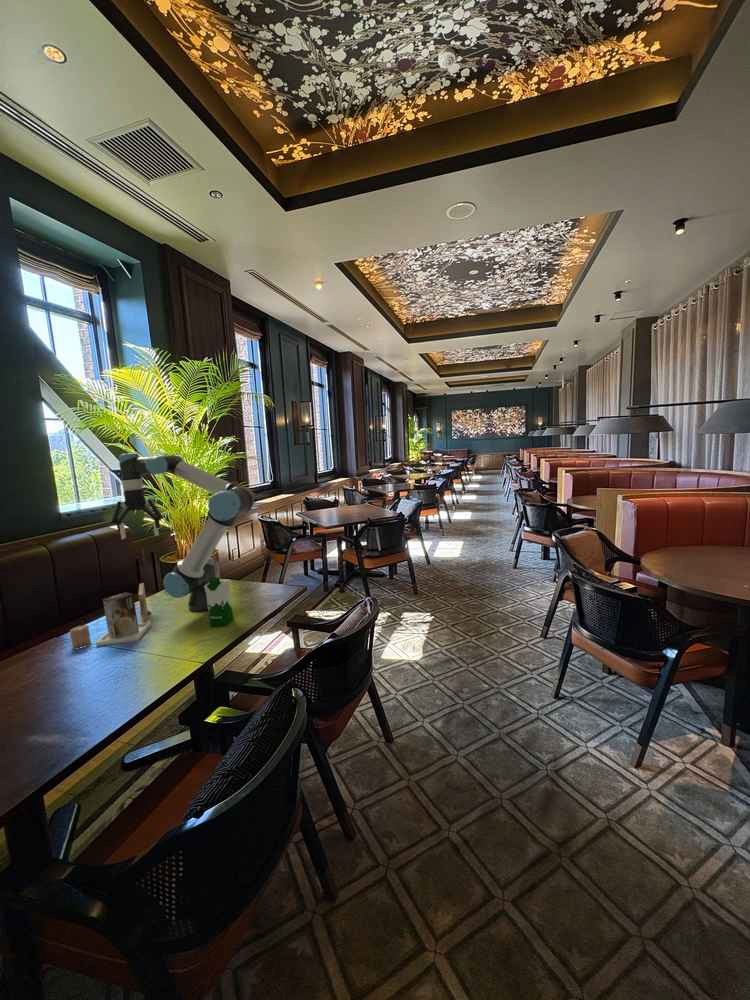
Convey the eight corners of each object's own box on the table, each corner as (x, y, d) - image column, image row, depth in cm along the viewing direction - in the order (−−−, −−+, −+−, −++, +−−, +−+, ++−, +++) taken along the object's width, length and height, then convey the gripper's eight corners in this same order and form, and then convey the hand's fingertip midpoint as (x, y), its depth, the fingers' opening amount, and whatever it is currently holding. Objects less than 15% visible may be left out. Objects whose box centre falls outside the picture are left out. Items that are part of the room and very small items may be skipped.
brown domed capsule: (94, 641, 167) (91, 624, 166) (86, 648, 161) (83, 630, 160) (77, 643, 166) (74, 626, 165) (69, 650, 160) (66, 632, 159)
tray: (151, 625, 179) (150, 621, 179) (137, 641, 164) (137, 636, 164) (113, 630, 177) (112, 626, 176) (96, 646, 162) (95, 642, 162)
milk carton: (206, 628, 172) (201, 581, 169) (217, 619, 181) (211, 574, 178) (227, 627, 171) (221, 580, 168) (236, 618, 180) (231, 573, 177)
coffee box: (132, 628, 176) (126, 591, 174) (139, 631, 172) (133, 593, 170) (108, 637, 168) (102, 598, 166) (115, 640, 165) (109, 601, 163)
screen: (150, 611, 196) (146, 582, 194) (150, 624, 180) (145, 593, 178) (140, 613, 194) (136, 584, 192) (139, 627, 178) (135, 595, 176)
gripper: (166, 486, 187) (173, 532, 190) (106, 490, 183) (113, 538, 186) (161, 487, 180) (167, 535, 183) (98, 492, 176) (105, 541, 179)
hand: (140, 537), depth 184 cm, fingers open, 13 cm apart
